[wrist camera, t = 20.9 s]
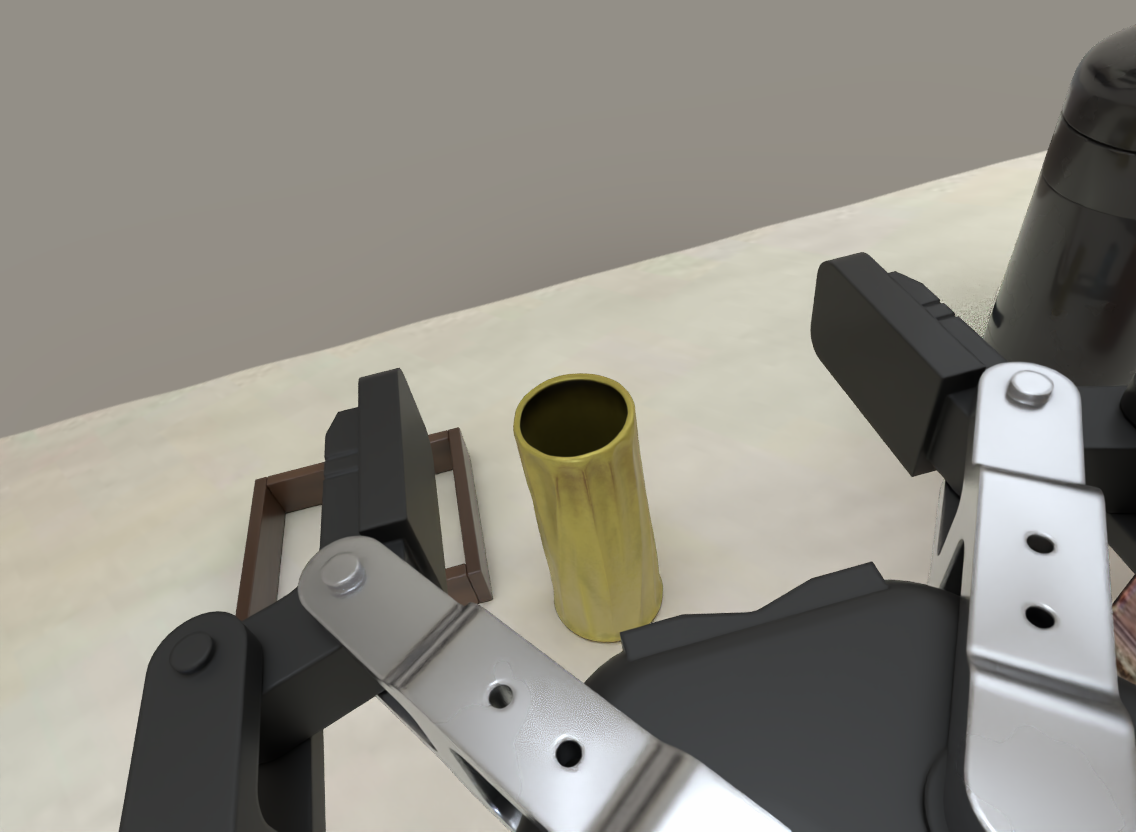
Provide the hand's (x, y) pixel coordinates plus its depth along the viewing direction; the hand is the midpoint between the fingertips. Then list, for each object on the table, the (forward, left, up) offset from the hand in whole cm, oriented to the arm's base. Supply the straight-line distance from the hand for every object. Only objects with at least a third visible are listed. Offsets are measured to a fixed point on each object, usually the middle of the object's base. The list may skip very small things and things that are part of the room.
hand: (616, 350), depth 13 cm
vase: (-5, -10, -26) cm, 28 cm away
